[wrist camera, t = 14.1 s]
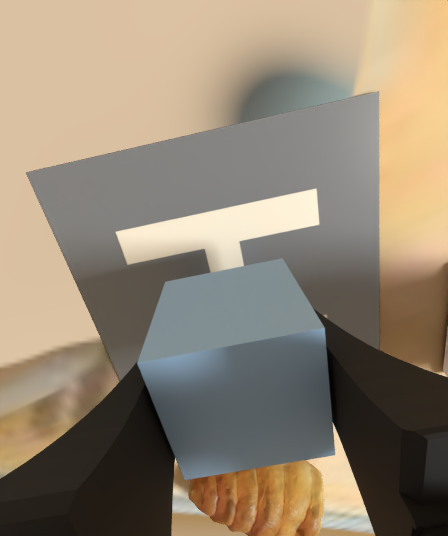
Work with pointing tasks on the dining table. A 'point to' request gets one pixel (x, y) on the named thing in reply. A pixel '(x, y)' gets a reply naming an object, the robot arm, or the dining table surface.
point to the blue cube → (239, 371)
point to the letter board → (225, 216)
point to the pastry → (264, 499)
